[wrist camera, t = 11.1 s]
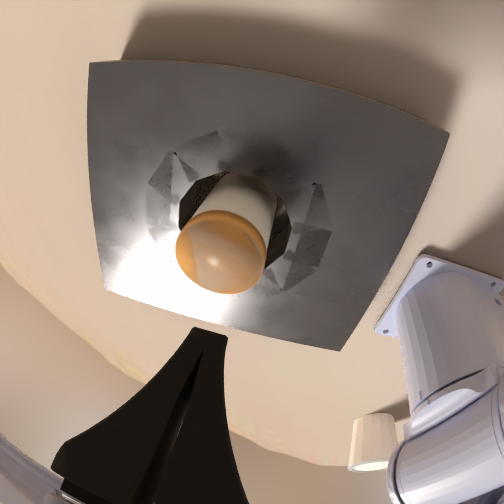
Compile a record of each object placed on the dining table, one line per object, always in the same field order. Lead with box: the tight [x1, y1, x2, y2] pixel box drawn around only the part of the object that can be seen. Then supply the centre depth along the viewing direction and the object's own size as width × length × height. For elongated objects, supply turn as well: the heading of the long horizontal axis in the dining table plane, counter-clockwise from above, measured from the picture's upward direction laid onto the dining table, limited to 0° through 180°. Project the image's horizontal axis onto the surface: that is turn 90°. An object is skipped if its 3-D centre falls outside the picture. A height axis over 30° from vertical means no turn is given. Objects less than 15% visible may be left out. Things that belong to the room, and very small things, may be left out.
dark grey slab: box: [87, 59, 450, 351], centre depth 17 cm, size 18×16×3 cm
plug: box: [175, 172, 277, 294], centre depth 16 cm, size 4×4×6 cm
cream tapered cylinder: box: [348, 413, 398, 472], centre depth 30 cm, size 7×7×7 cm
